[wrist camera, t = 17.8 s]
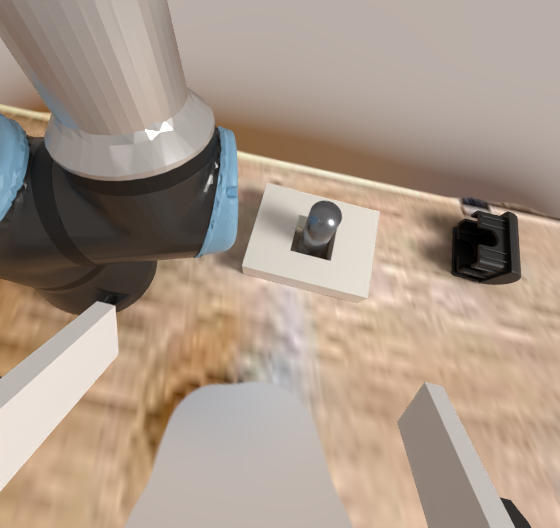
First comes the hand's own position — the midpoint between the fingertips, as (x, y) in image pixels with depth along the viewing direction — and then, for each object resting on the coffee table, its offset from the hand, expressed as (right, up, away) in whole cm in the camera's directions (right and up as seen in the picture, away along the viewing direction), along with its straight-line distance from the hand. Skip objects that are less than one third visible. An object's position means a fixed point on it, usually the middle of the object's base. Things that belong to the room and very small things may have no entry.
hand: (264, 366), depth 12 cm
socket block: (+5, +7, +32) cm, 33 cm away
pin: (+5, +7, +32) cm, 33 cm away
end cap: (+33, +6, +34) cm, 48 cm away
